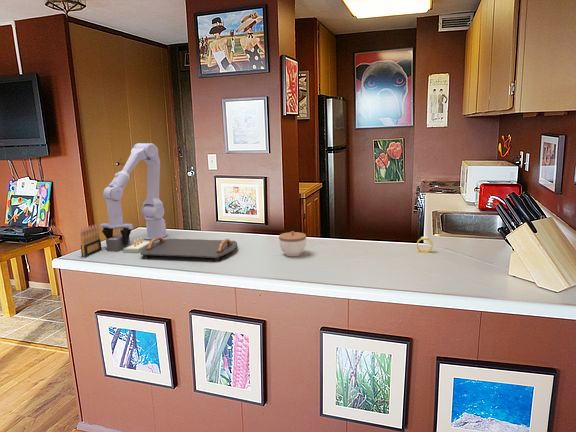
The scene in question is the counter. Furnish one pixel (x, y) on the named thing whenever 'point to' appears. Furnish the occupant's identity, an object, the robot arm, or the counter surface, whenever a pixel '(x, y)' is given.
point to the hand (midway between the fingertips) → (118, 244)
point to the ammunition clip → (90, 241)
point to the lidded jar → (292, 243)
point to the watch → (425, 239)
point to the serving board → (189, 248)
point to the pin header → (136, 246)
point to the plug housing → (116, 243)
